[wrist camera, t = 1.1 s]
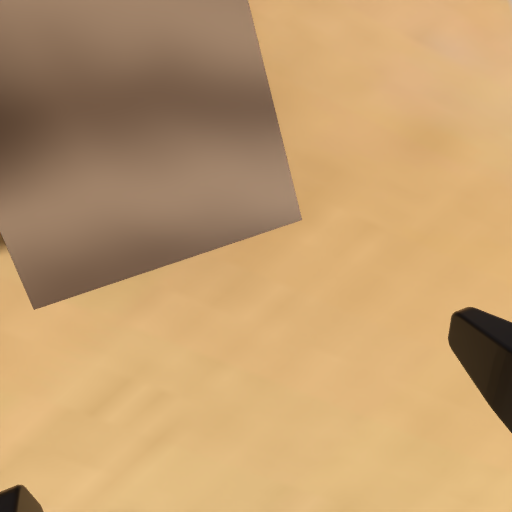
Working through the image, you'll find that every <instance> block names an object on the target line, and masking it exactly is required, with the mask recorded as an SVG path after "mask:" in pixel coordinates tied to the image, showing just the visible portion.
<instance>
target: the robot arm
mask: <svg viewBox="0 0 512 512" xmlns="http://www.w3.org/2000/svg"><path fill="white" fill-rule="evenodd" d="M448 341H449V345H450V347H451V349H452V351H453V352H454V354H455V355H456V357H457V358H458V360H459V361H460V363H461V364H462V366H463V367H464V369H465V370H466V372H467V373H468V375H469V376H470V378H471V379H472V380H473V382H474V383H475V385H476V386H477V388H478V389H479V391H480V392H481V394H482V395H483V397H484V398H485V400H486V401H487V403H488V404H489V405H490V407H491V408H492V409H493V411H494V412H495V413H496V414H497V416H498V417H499V418H500V419H501V421H502V422H503V423H504V424H505V425H506V427H507V428H508V429H509V430H510V432H511V433H512V322H509V321H507V320H504V319H502V318H499V317H497V316H494V315H492V314H489V313H486V312H484V311H481V310H479V309H476V308H473V307H467V308H464V309H462V310H459V311H456V312H454V313H453V315H452V317H451V322H450V329H449V335H448ZM0 512H43V509H42V507H41V505H40V504H39V503H38V501H37V500H36V499H35V498H34V497H33V496H32V494H31V493H30V492H29V491H28V490H27V489H26V487H24V486H23V485H16V486H14V487H11V488H9V489H6V490H4V491H1V492H0Z"/></svg>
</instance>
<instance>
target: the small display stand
mask: <svg viewBox="0 0 512 512" xmlns="http://www.w3.org/2000/svg"><path fill="white" fill-rule="evenodd" d="M300 220H302V218H301V214H300V210H299V205H298V201H297V197H296V193H295V189H294V185H293V181H292V177H291V173H290V169H289V165H288V161H287V157H286V153H285V149H284V145H283V141H282V137H281V132H280V128H279V124H278V120H277V116H276V112H275V108H274V104H273V100H272V96H271V92H270V88H269V84H268V80H267V76H266V72H265V68H264V64H263V59H262V55H261V51H260V47H259V43H258V39H257V35H256V31H255V27H254V23H253V19H252V15H251V11H250V7H249V3H248V0H0V233H1V235H2V237H3V239H4V242H5V244H6V246H7V249H8V251H9V253H10V256H11V258H12V260H13V263H14V265H15V267H16V269H17V272H18V274H19V276H20V279H21V281H22V283H23V286H24V288H25V290H26V293H27V295H28V297H29V299H30V302H31V304H32V306H33V309H34V310H35V309H38V308H41V307H44V306H47V305H50V304H53V303H56V302H59V301H62V300H65V299H68V298H70V297H73V296H76V295H79V294H82V293H85V292H88V291H91V290H94V289H97V288H100V287H103V286H106V285H109V284H112V283H115V282H118V281H121V280H124V279H127V278H130V277H133V276H136V275H139V274H142V273H145V272H148V271H151V270H154V269H157V268H160V267H163V266H166V265H169V264H172V263H175V262H178V261H181V260H184V259H187V258H190V257H193V256H196V255H199V254H202V253H205V252H208V251H211V250H214V249H217V248H220V247H223V246H226V245H229V244H232V243H235V242H238V241H241V240H244V239H247V238H250V237H253V236H256V235H259V234H262V233H265V232H268V231H271V230H274V229H277V228H279V227H282V226H285V225H288V224H291V223H294V222H297V221H300Z"/></svg>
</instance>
